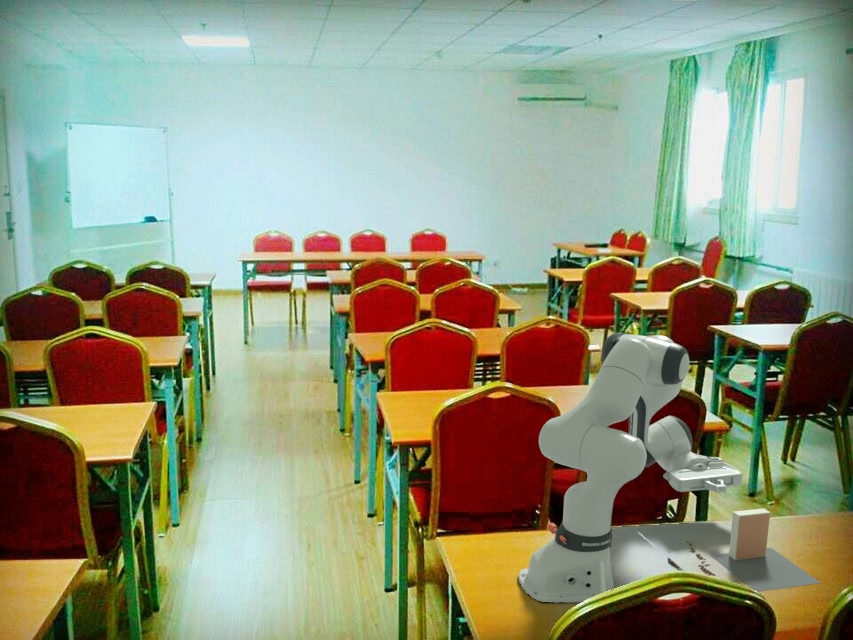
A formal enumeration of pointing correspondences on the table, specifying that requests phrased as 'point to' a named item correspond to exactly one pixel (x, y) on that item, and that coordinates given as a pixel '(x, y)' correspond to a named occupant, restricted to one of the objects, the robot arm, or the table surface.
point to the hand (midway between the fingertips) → (722, 490)
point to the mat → (766, 571)
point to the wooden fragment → (698, 558)
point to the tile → (749, 534)
